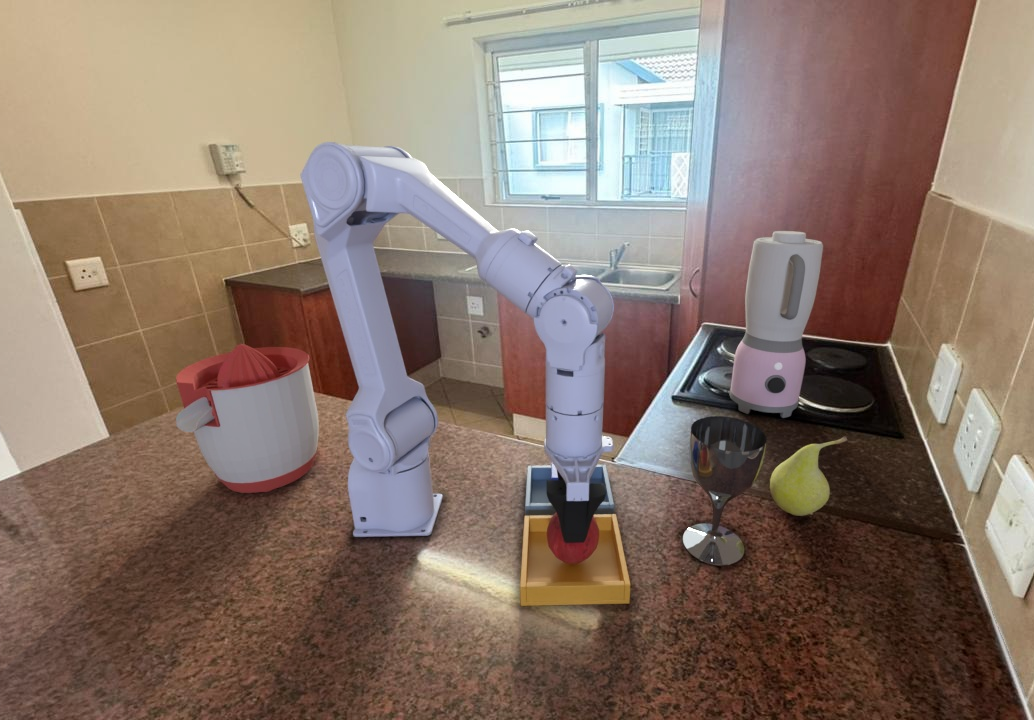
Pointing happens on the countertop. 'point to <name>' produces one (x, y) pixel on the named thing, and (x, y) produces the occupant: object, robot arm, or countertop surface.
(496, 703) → the countertop surface
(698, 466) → the wine glass
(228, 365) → the citrus juicer
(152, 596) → the countertop surface
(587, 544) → the onion
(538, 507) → the gray tray
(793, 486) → the fruit
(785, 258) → the blender
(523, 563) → the ochre tray
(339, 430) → the countertop surface
